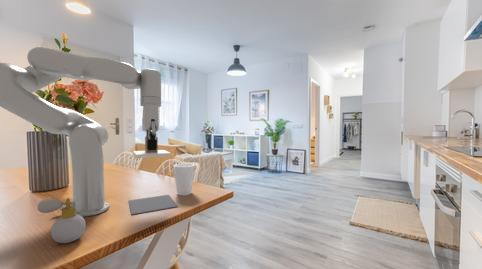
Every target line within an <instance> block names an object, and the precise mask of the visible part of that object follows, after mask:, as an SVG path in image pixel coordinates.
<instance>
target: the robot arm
mask: <svg viewBox="0 0 482 269" xmlns="http://www.w3.org/2000/svg"><path fill="white" fill-rule="evenodd" d="M26 57H27V62H28V63H29V66H26V67H23V68H22V67H19V66H17V65H14V64H10V63H7V62H1V61H0V107H1V108H2V109H4V110H6V111H7V112H9V113H11V114H13V115H15V116H18V117H19V118H21V119H23V120H25V121H27V122H29V123H30V124H32V125H35V126H37V127H38V128H41V129H42V130H44V131H46V132H47V133H50V134H52V135H53V134H54V135H66V136H68V146H69V151H70V158H71V159H70V160H71V174H72V175H71V177H72V178H71V180H72V181H71V182H72V199H71V200H70V201H71V202H72V204H71V205H70V206H74V207H75V213H76V214H78V215H80V216H82V217H83V218H85V217H90V216H96V215H100V214H102V213H105V211H108V210H109V209H110V203H109V202H106V201H105V175H104V174H105V168H104V167H105V166H104V165H105V164H104V152H103V151H104V150H103V146H104V145H105V144H106V143H107V141H108V139H109V133H108V130H107V129H106V128H105V127H104V126H103V125H102V124H99V123H98V122H96V121H94V120H93V119H90V118H89V117H87V116H85V115H83V114H82V113H80V112H78V111H76V110H73V109H71V108H65V107H61V106H58V105H55V104H53V103H51V102H49V101H47V100H45V99H43V98H42V97H41V96H38V95H37V94H34V93H35V92H38V91H40V90H41V89H43V88H47V86H50V85H51V84H54V83H55V82H58V81H60V80H61V79H63V78H67V79H73V80H76V81H77V80H78V81H83V82H84V81H85V82H87V81H91V80H95V81H96V80H98V81H104V82H110V83H116V84H118V85H119V84H120V85H121V86H122V87H124V88H125V89H128V90H138V89H140V90H139V95H140V96H139V99H140V100H139V101H140V104H139V106H140V107H142V119H141V120H142V121H141V122H142V124H141V128H142V129H141V130H142V131H143V132H146V133H145V135H146V136H145V137H148V139H149V140H148V150H157V139H156V137H157V132H158V131H159V129H160V128H159V127H160V119H159V118H160V116H159V115H160V114H159V112H160V110H159V107H162V74H161V72H160V71H159V70H157V69H155V68H154V69H152V68H143V69H141V70H137V68H135V67H134V66H133V65H131V64H130V63H127V62H122V61H118V60H115V59H110V58H106V57H96V56H87V55H86V56H85V55H81V54H76V53H71V52H67V51H63V50H58V49H52V48H50V47H44V46H41V47H39V46H37V47H34V48H31V49H30V50H29V51H28V53H27V56H26ZM65 207H66V205H63V206H62V207H61V208H59V209H60V211H62V209H63V208H65ZM59 209H58V210H59Z"/></svg>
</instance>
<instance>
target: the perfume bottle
mask: <svg viewBox="0 0 482 269" xmlns="http://www.w3.org/2000/svg"><path fill="white" fill-rule="evenodd" d="M71 201H72V200H71V199H70V198H69V197H67V199H66V201H65V202H63V201H62V200H60V199H56V198H46V199H42V200H41V201H39V203H38V205H37V211H38V212H39V213H42V214H49V213H53V212H56V211H57V210H59V208H61V207H62V206H63V205H66V207H65V208H63V209H62V210H61V215H60V217H59V218H58V219H56V220H55V221H54V223H53V224H52V225H51V229H50V236H51V238H52V239H53V240H54V241H55V242H57V243H59V244H69V243H72V242H74V241H77V240H78V239H79V238H81V237H82V235H83V234H84V233H85V230H86V220H85V217H82V216H80V215H78V214H76V213H75V207H74V206H70V205H71V204H72V202H71Z"/></svg>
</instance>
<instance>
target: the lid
mask: <svg viewBox="0 0 482 269" xmlns="http://www.w3.org/2000/svg"><path fill="white" fill-rule="evenodd" d="M156 139H157V150H148V140H149V139H148V137H146V136H144V148H145V150H133V151H132V152H133V153H132V155H133V157H135V158H136V159H142V158H145V159H146V158H158V157H159V158H161V157H171V154H172V153H171V152H170V151H167V150H165V149H158V141H159V140H158V136H156Z"/></svg>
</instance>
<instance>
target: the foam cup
mask: <svg viewBox="0 0 482 269" xmlns="http://www.w3.org/2000/svg"><path fill="white" fill-rule="evenodd" d="M195 167H196V166H195V164H194V163H175V164H173V173H174V181H175V186H176V193H177V195H179V196H189V195H191V194H192V191H193V185H194V184H193V182H194V176H195V170H196V168H195Z"/></svg>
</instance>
